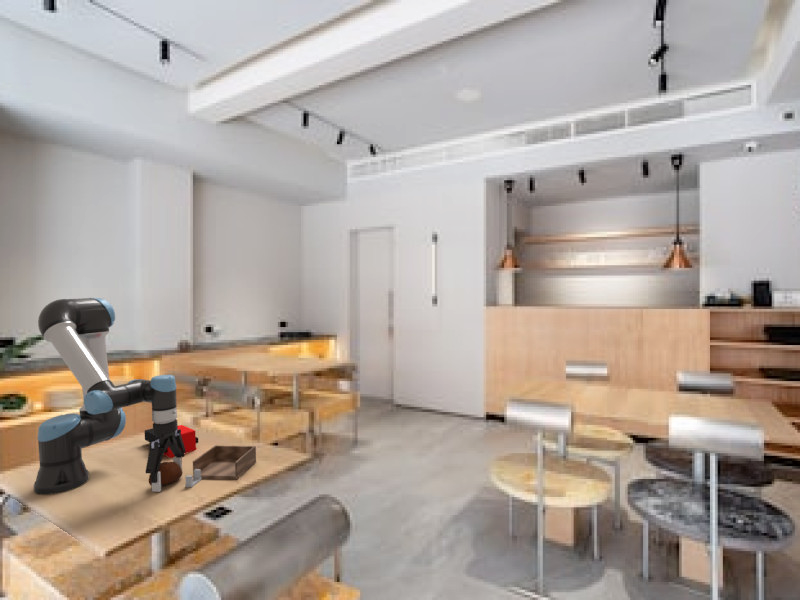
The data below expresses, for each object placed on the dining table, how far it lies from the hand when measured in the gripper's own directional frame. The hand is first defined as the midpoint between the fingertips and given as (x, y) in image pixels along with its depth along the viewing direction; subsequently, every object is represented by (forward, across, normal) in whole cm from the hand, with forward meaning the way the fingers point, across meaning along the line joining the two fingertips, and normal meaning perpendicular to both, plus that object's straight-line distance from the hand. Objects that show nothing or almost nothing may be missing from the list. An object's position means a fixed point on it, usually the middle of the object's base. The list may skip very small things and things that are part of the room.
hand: (167, 483), depth 151 cm
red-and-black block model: (0, +33, +21) cm, 39 cm away
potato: (+1, 0, 0) cm, 1 cm away
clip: (0, +1, -9) cm, 9 cm away
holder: (0, +12, -15) cm, 19 cm away
